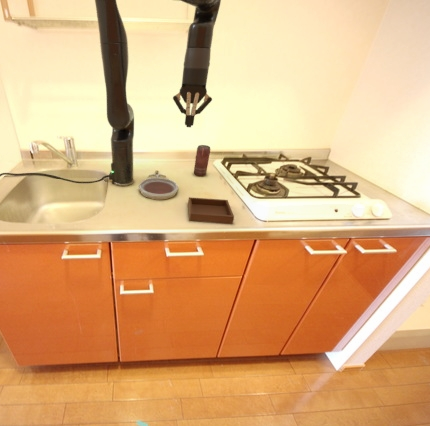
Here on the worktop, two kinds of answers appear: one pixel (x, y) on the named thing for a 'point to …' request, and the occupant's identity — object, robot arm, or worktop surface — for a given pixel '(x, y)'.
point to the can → (201, 160)
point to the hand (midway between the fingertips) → (188, 126)
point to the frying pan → (158, 187)
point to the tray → (210, 210)
